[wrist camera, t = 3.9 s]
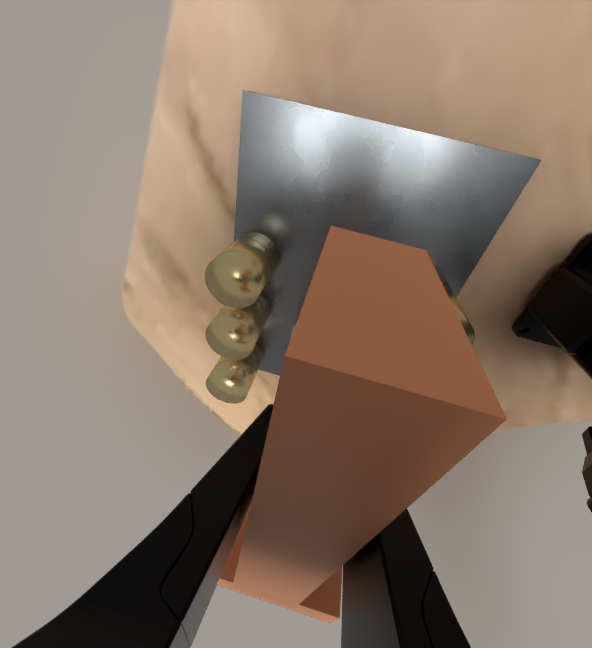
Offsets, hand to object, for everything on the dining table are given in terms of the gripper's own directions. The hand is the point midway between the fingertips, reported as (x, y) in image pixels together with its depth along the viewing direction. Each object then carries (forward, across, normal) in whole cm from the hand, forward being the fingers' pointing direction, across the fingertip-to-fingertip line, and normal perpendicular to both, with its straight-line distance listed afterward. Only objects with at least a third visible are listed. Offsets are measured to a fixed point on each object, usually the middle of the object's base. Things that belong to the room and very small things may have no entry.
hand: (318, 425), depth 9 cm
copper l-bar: (+2, 0, +1) cm, 3 cm away
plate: (+11, 0, +1) cm, 11 cm away
